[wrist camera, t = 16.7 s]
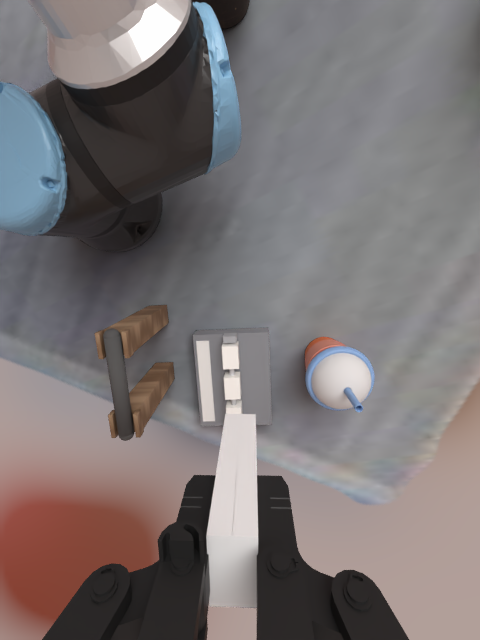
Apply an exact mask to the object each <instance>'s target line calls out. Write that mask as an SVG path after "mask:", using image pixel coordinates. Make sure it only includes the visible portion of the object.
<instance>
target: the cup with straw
mask: <svg viewBox="0 0 480 640" xmlns="http://www.w3.org/2000/svg"><path fill="white" fill-rule="evenodd" d="M305 367H306V376H305V382H306V387H307V390H308V392H309V394H310V396H311V397H312V398H313V400H314V401H315V402H317V403H318V404H319V405H321V406H323V407H325V408H327V409H330V410H337V411H340V410H348V409H351V408H354V409H355V410H356V411H357V412H361V411H362V410H363V406H362V405H361V403H362V402H363V401H364V400H365V399H366V398H367V397H368V396H369V394H370V393H371V391H372V388H373V385H374V371H373V367H372V365H371V363H370V361H369V360H368V359H367V357H366V356H365V355H364V354H362V353H361V352H359V351H358V350H356V349H353V348H350V347H347V346H345V345H344V344H342V343H341V342H339V341H336V340H334V339H332V338H329V337H320V338H317V339H315V340H313V341H312V342H310V343H309V345H308V346H307V348H306V351H305Z"/></svg>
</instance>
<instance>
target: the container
mask: <svg viewBox="0 0 480 640" xmlns="http://www.w3.org/2000/svg"><path fill="white" fill-rule="evenodd" d="M249 1H250V0H192V2H194V3H195V2H199V3H203V2H204V3H207V4H208V5H210V6H211V8H212V9H213V11H214V13H215V15H216V17H217V20H218V22H219V25H220V28H221V29H226V28H230V27H232V26H234V25H236V24H237V23H239V22H240V21H241V20H242V18H243V17H244V15H245V13H246V11H247V9H248V5H249Z"/></svg>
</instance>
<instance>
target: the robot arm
mask: <svg viewBox="0 0 480 640" xmlns="http://www.w3.org/2000/svg"><path fill="white" fill-rule="evenodd" d="M28 2H29V3H30V5H31V6H32V7H33V9H34V10H35V12H36V13H37V15H38V16H39V17H40V19H41V20H42V22H43V23H44V25H45V26H46V27H47V55H48V62H49V66H50V68H51V70H52V71H53V73H54V74H55V76H56V77H57V79H55V80H53V81H51V82H49V83H47V84H45V85H44V86H42V87H40V88H38V89H36V90H34V91H32V92H30V93H27V92H26V91H25V90H23V89H22V88H20V87H18V86H16V85H14V84H11V83H4V82H1V81H0V229H1V230H5V231H10V232H15V233H18V234H21V235H27V236H36V235H46V236H63V237H77V238H78V239H80V240H81V241H82V242H84V243H85V244H87V245H89V246H91V247H93V248H96V249H99V250H103V251H127V250H131V249H134V248H136V247H138V246H140V245H141V244H143V243H144V242H145V241H147V240H148V239H149V238H150V237H151V235H152V234H153V233H154V231H155V229H156V228H157V226H158V223H159V220H160V217H161V212H162V195H161V192H163V191H166V190H168V189H170V188H172V187H175V186H177V185H179V184H182V183H184V182H186V181H189V180H191V179H193V178H195V177H198V176H200V175H202V174H207V173H209V172H210V171H211V170H212V169H213V168H215V167H217V166H219V165H220V164H222V163H224V162H226V161H228V160H230V159H231V158H232V157H233V156H234V155H235V154H236V153H237V151H238V149H239V147H240V142H241V118H240V109H239V103H238V97H237V91H236V86H235V81H234V77H233V75H232V72H231V70H230V62H229V56H228V51H227V47H226V43H225V40H224V37H223V33H222V30H221V28H220V25H219V22H218V20H217V17H216V15H215V13H214V11H213V9H212V8H211V6H210V5H208V4H207V3H204V2H203V3H199V2H195V3H194V2H192V0H28ZM158 547H159V559H160V560H159V561H157V562H156V563H154V564H153V565H151V566H149V567H146V568H143V569H140V570H137V571H134V572H130V573H129V572H128V570H127V568H125V567H124V566H122V565H121V564H109V565H105V566H102V567H100V568H99V569H97V570H96V571H94V572H93V573H92V574H91V575H90V576H89V577H88V578H87V579H86V580H85V581H84V583H83V584H82V586H81V587H80V588H79V590H78V591H77V593H76V594H75V595H74V597H73V598H72V599H71V601H70V602H69V603H68V605H67V606H66V608H65V609H64V610H63V612H62V613H61V614H60V616H59V617H58V619H57V620H56V621H55V623H54V624H53V626H52V627H51V628H50V630H49V631H48V632H47V634H46V635H45V636H44V638H43V639H42V640H207V630H208V628H207V613H208V605H209V606H213V607H240V608H257V640H409V639H408V637H407V635H406V634H405V632H404V630H403V628H402V627H401V625H400V623H399V622H398V620H397V618H396V617H395V615H394V613H393V612H392V610H391V608H390V606H389V605H388V603H387V601H386V600H385V598H384V596H383V595H382V593H381V591H380V590H379V588H378V587H377V586H376V585H375V583H374V582H373V581H372V580H371V579H370V578H368V577H367V576H366V575H364V574H363V573H360V572H357V571H355V570H344V571H342V572H340V573H338V574H337V575H336V576H335V578H333V577H331V576H328V575H326V574H323V573H320V572H318V571H316V570H314V569H313V568H311V567H310V566H309V565H308V564H307V563H306V562H305V561H304V560H303V559H302V557H301V555H300V553H299V551H298V548H297V543H296V536H295V529H294V522H293V516H292V509H291V502H290V497H289V489H288V485H287V484H286V482H285V481H284V480H283V478H282V476H257V455H256V414H225V420H224V426H223V433H222V439H221V445H220V453H219V459H218V465H217V472H216V476H212V475H211V476H210V475H194V476H193V477H192V478H191V480H190V481H189V482H188V483H187V485H186V488H185V492H184V496H183V499H182V503H181V508H180V510H179V514H178V518H177V521H176V522H175V523H174V524H171V525H169V526H168V527H167V528H166V529H165V530H164V531H163V532H162V533H161V535H160V537H159V539H158Z"/></svg>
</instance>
